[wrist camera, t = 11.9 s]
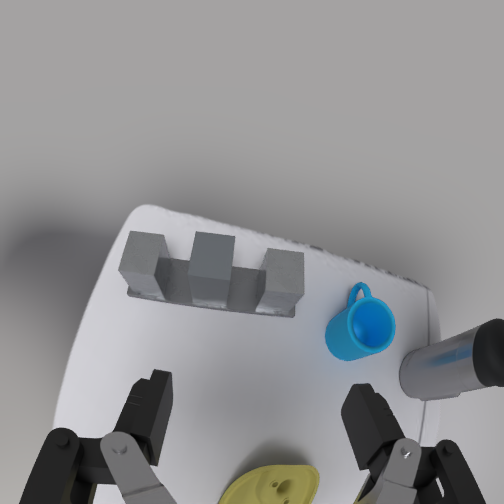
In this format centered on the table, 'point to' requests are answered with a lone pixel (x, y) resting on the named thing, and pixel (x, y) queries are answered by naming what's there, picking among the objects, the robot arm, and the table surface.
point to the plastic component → (274, 486)
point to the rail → (241, 282)
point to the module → (211, 268)
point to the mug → (360, 327)
